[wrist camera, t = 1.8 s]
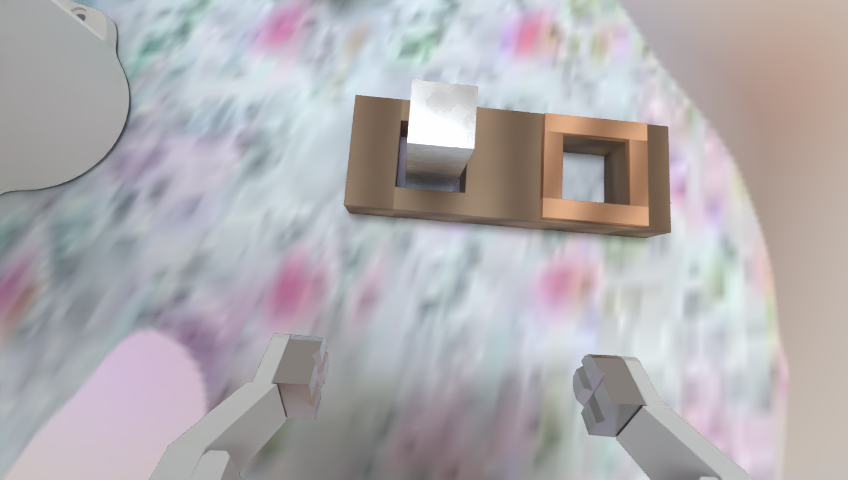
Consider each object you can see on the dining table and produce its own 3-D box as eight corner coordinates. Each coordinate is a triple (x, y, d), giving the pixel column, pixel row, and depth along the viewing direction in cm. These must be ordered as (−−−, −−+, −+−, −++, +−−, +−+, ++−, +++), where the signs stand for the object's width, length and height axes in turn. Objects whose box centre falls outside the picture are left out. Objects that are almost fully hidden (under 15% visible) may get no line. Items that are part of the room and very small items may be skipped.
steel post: (404, 189, 31) (407, 142, 21) (408, 145, 32) (412, 79, 22) (451, 193, 31) (474, 148, 21) (453, 149, 32) (477, 86, 22)
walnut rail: (349, 213, 30) (342, 202, 27) (359, 113, 32) (354, 90, 28) (645, 237, 32) (676, 231, 28) (644, 141, 33) (673, 123, 30)
